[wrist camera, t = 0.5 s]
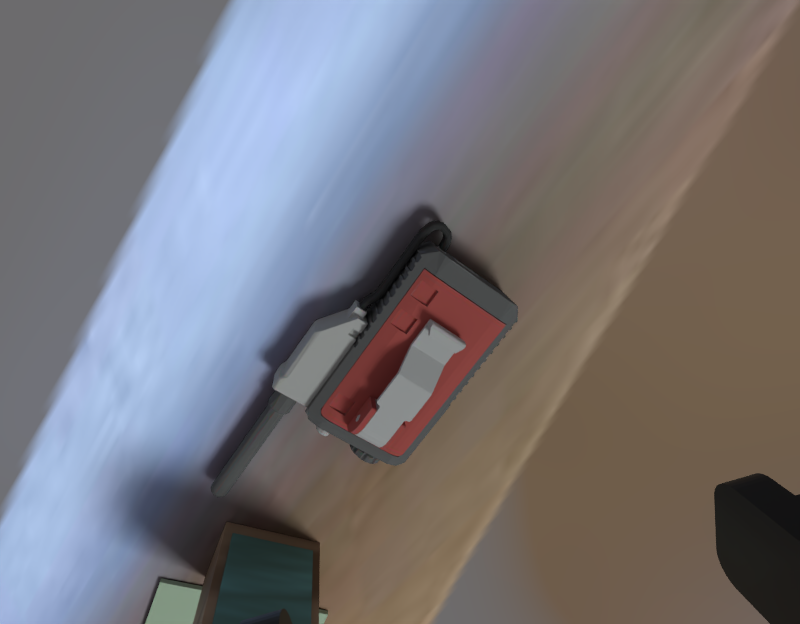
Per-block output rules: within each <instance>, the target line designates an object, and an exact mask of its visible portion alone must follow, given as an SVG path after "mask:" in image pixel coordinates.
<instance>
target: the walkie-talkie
mask: <svg viewBox="0 0 800 624" xmlns="http://www.w3.org/2000/svg"><path fill="white" fill-rule="evenodd" d="M434 230H440V231H441V232H442V233H443V239H442V241H441V243H440V245H439V246H437V245H436V244H434V243H433V242H431V241H428V242H423V241H424V239H425V238H426V237H427V236H428V235H429V234H430V233H431V232H432V231H434ZM451 239H452V235H451V231H450V230H449V229H448V227H447V226H446V225H445V224H444V223H442V222H440V221H432V222H430V223H428V224H427V225H425V226H424V227H423V228H422V229H421V230H420V231H419V232H418V234H417V235H416V237H415V238H414V239H413V241H412V242H411V244H410V245H409V246H408V248H407V249H406V250H405V252H404V253H403V255H402V256H401V257H400V259H399V260H398V262H397V263H396V264H395V266H394V267H393V269H392V270H391V271H390V273H389V274H388V275H387V277H386V278H385V280H384V281H383V282H382V283H381V285H380V286H379V287H378V289H377V290H376V291H375V292H374V293H372V294H370V295H368V296H366V297H365V298H364V299H363V300H361V301H360V302H358V301H356V300H355V302H354V303H353V304H352V306H351V307H350V308H349V309H346V310H343V311H340V312H338V313H335V314H332V315H329V316H326V317H323V318H320V319H317V320H316V321H315V322H314V323H313V324H312V326H311V327H310V329H309V330H308V331H307V333H306V334H305V336H304V337H303V338H302V340H301V341H300V343H299V344H298V346H297V347H296V348H295V350H294V351H293V353H292V354H291V355H290V357H289V358H288V360H287V361H286V362H284V363H282V364H281V365H280V366H279V368H278V369H277V371H276V372H275V375H274V380H273V385H272V387H273V388H274V390H275V392H274V393H273V394H272V396H271V397H270V399H269V400H268V403H269V404H268V406H267V407H266V409H265V410H264V411H263V413H262V414H261V416H260V417H259V419H258V420H257V421H256V423H255V424H254V426H253V427H252V428H251V430H250V431H249V433H248V434H247V436H246V437H245V438H244V440H243V441H242V443H241V444H240V445H239V447H238V448H237V450H236V451H235V453H234V454H233V455H232V457H231V458H230V460H229V461H228V462H227V464H226V465H225V467H224V468H223V470H222V471H221V472H220V474H219V475H218V477H217V478H216V479H215V481H214V482H213V484H212V486H211V491H212V493H213V495H215V496H216V497H223V496H225V495H226V494H227V493H228V492H229V490H230V489H231V488H232V486H233V485H234V483H235V482H236V481H237V479H238V478H239V476H240V475H241V474H242V472H243V471H244V469H245V468H246V467H247V465H248V464H249V462H250V461H251V460H252V458H253V457H254V455H255V454H256V453H257V451H258V450H259V449H260V447H261V446H262V444H263V443H264V442H265V440H266V439H267V437H268V436H269V435H270V433H271V432H272V430H273V429H274V428H275V426H276V425H277V423H278V422H279V421H280V419H281V418H282V417H283V415H284V414H287V413H289V412H290V410H291V409H292V407H293V406H294V405H295V403H296V402H298V403H300V404H302V405H304V406H306V407H307V409H306V410H305V412H306V414H307V415H308V419H309V420H310V421H311V422H313V423H314V424H315V425H316V429H317V431H318V432H319V433H320V434H322V435H324V436H328V434H329V433H330V434H332V435H334V436H335V437H337V438H339V439H341V440H343V441H345V442H347V443H349V444H350V447H351V449H352V451H353V452H354V453H355V454H356V455H357V456H358V457H359V458H360V459H361V460H363V461H365V462H367V463H370V464H374V463H377V462H378V461H379V460H381V461H383V462H384V463H386V464H390V465H395V466H396V465H399V464H402V463H404V462H405V461H406V460H407V459H408V457H409V456H410V455H411V454H412V452H413V451H414V450H415V449H416V447H417V446H418V445H419V444H420V442H421V441H422V440H423V439H424V437H425V436H426V435H427V434H428V432H429V431H430V430H431V429H432V427H433V426H434V425H435V424H436V422H437V421H438V420H439V419H440V417H441V416H442V415H443V414H444V412H445V411H446V410H447V409H448V407H449V406H450V403H451V402H452V401H453V400H455V399H456V396H457V394H458V393H459V392H461V391H462V388H463V387H464V386H465V385H467V384H468V381H469V379H470V378H471V377H473V376H474V373H475V372H476V371H477V370H478V369H480V366H481V364H482V363H483V362H485V361H486V360H487V359H486V358H487V357H488V356H489V354H492V352H493V349H494V348H495V347H496V346H498V345H499V342H500V341H501V339H502V338H504V337H505V334H506V333H507V332H508V331H509V330H511V329H512V326H513V324H514V323H515V322H517V315H518V306H517V305H516V304H515V303H514V302H513V301H511V300H510V299H509V298H508V297H507V296H506V295H505V294H504V293H503V292H502V291H500V290H499V289H498V288H496V287H495V286H493V285H492V284H491V283H489V282H488V281H486V280H485V279H483V278H482V277H481V276H479V275H478V274H476V273H475V272H474V271H472V270H471V269H469V268H468V267H467V266H465V265H464V264H462V263H461V262H460V261H458V260H457V259H455V258H454V257H453V256H451V255H450V254H448V253H447V252H446V251H447V249H448V247H449V246H450V243H451ZM422 242H423V243H422ZM371 304H373V305H372V306H371V307H370V308H368V309H367V307H368V306H369V305H371ZM366 309H367V311H366Z"/></svg>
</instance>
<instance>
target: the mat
mask: <svg viewBox="0 0 800 624" xmlns="http://www.w3.org/2000/svg"><path fill="white" fill-rule="evenodd" d="M202 587H203V586H198V585H193V584H188V583H183V582H178V581H173V580H167V579H162V578H161V581H160V583H159V586H158V589H157V592H156V595H155V598H154V600H153V603H152V606H151V609H150V612H149V614H148V617H147V620H146V623H145V624H193V621H194V617H195V614H196V610H197V606H198V602H199V598H200V594H201V591H202ZM327 615H328V611H326V610H321V609H319V624H324V622H325V620H326V618H327Z"/></svg>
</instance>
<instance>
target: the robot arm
mask: <svg viewBox="0 0 800 624" xmlns="http://www.w3.org/2000/svg"><path fill="white" fill-rule="evenodd" d="M714 499H715V524H716V549H717V555H718V558H719V561H720V564H721V566H722V568H723V570H724V572H725V574H726V576H727V577H728V579H729V580H730V581H731V583H732V584H733V585H734V586H735V588H736V589H737V590H738V591H739V592H740V593H741V594H742V595H743V596H744V597H745V598H746V599H747V600H748V601H749V602H750V603H751V604H752V605H753V606H754V607H755V609H756V610H758V612H759V613H760V614H761V615H762V616H763V617H764V618H765V619H766V620H767V621H768V622H769V623H770V624H800V495H796V496H795V495H793V494H792V493H791V492H789V491H788V490H787V489H785V488H784V487H782V486H781V485H779V484H778V483H777V482H775V481H774V480H773V479H771V478H769V477H768V476H766V475H764V474H759V473H757V474H753V475H749V476H746V477H743V478H739V479H736V480H732V481H729V482H725V483H722V484H719V485H717V487H716V488H715V492H714ZM240 624H292V621H291V619H290V616H289V614H288V612H287V610H286V609H280V610H277V611H273V612H270V613H266V614H263V615H259V616H256V617H252V618H249V619H245V620H242V621H241V622H240Z"/></svg>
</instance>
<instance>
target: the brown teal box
mask: <svg viewBox="0 0 800 624" xmlns="http://www.w3.org/2000/svg"><path fill="white" fill-rule="evenodd" d="M319 559H320V543H318V542H314V541H310V540H305V539H301V538H297V537H292V536H288V535H283V534H279V533H275V532H270V531H266V530H261V529H257V528H253V527H248V526H244V525H239V524H235V523H230V522H226V524H225V527H224V529H223V532H222V534H221V537H220V540H219V542H218V545H217V547H216V550H215V552H214V555H213V558H212V560H211V563H210V565H209V568H208V571H207V573H206V576H205V579H204V583H203V587H202V591H201V594H200V598H199V602H198V606H197V610H196V614H195V617H194V621H193V624H240V622H241V621H242V620H245V619H249V618H252V617H256V616H259V615H263V614H266V613H270V612H273V611H277V610H280V609H286V610H287V612H288V614H289V616H290V619H291V621H292V624H319Z"/></svg>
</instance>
